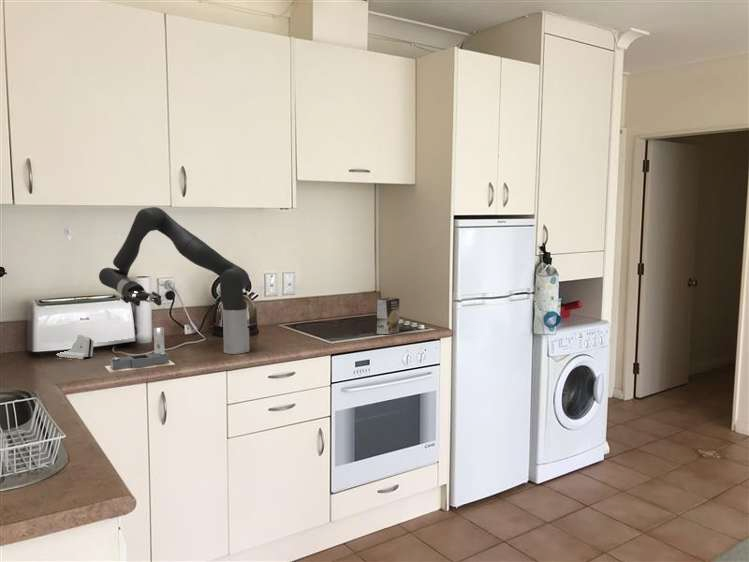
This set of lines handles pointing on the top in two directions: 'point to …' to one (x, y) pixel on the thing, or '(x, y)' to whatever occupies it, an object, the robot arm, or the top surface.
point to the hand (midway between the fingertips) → (149, 303)
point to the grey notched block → (139, 361)
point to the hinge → (79, 348)
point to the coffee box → (387, 315)
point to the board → (137, 368)
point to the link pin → (158, 340)
